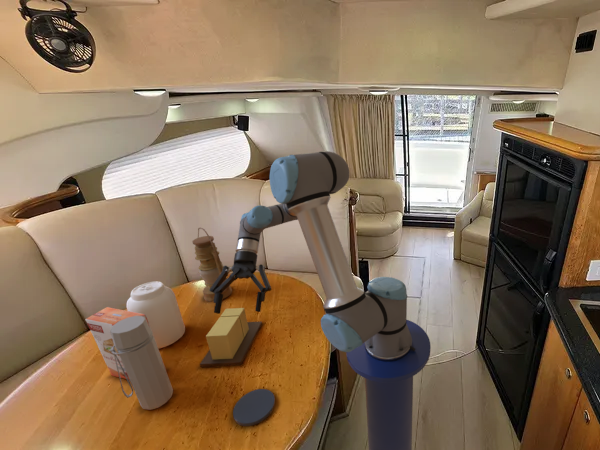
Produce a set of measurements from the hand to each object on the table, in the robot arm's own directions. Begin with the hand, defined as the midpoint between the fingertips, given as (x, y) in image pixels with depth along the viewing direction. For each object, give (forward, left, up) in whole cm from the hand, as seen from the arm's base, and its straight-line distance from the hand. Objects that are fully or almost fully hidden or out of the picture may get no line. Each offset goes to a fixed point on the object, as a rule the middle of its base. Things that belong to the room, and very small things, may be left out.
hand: (237, 312), depth 107 cm
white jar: (+24, +6, -8) cm, 26 cm away
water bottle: (+7, +29, -8) cm, 31 cm away
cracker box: (+19, +21, -8) cm, 30 cm away
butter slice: (-1, +3, -7) cm, 7 cm away
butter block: (-2, +10, -7) cm, 12 cm away
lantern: (+22, -20, -8) cm, 31 cm away
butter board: (-1, +6, -8) cm, 10 cm away
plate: (-21, +28, -8) cm, 36 cm away
